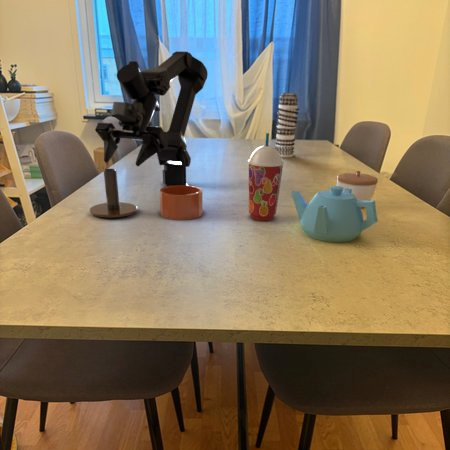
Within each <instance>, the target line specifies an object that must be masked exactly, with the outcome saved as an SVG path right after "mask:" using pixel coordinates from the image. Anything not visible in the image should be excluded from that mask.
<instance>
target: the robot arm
mask: <svg viewBox="0 0 450 450" xmlns="http://www.w3.org/2000/svg"><path fill="white" fill-rule="evenodd" d="M176 77H177V79H178V83H179V86H180V88H179V93H178V96H177V99H176V103H175V107H174V109H173V110H174V111H173V113H172V117H171V121H170V124H169V128H168V130H167V131H164V129H163V127H162V126H156V125H155V126H154V125H153V123H152V118H153V115H154V113H155V112H160V111H161V107H160V104H159V102H158V99H157V97H156V96H160V97H162V96H163V97H164V96H165V95H166V94H167V93H168V91H169V90H170V88H171V85H170V84H171V82H172V81H173V80H174V79H175V78H176ZM116 79H117V81H118V82H119V84H120V86H121V88H122V90H123V91H124V93H125V95H126V96H127V97H128V99H130V100H133V101H132V103H130V102H125V101H124V102H122V101H114V102H113V104H112V109H111V117H112V118H115V119H116V120H118V122H117V124H118V125H119V126H120V127H122V128H116V127H115V125H114V124H113V123H112V122H97V124H96V127H95V129H94V131H95V132H96V134H97V135H98V136H99V138H100V139H101V140H102V141H103V161H104V163H105V164H108V163H109V161H110V160H111V159H112V157H113V156H114V154H115V153H116V151H117V149H118V148H119V145H118V144H120V142H121V139H126V140H127V139H128V140H132V141H141V142H142V144H141V146H140V149H139V151H138V154H137V156H136V160H135V166H136V167H140V166H141V165H142V164H143V163H145V162H146V161H147V160H148V159H150V158H151V157H153V156H154V155H156V156H157V159H158V164H159V166H163V169H162V170H161V171H162V184H163V185H165V187H167V186H173V185H189V184H188V183H187V168H188V167H190V166H191V161H192V159H191V156H190V154H189V151H188V150H187V148H188V146H187V142H186V139H185V135H186V131H187V128H188V123H189V120H190V117H191V113H192V109H193V106H194V102H195V98H196V95H197V94H198V93H199V92H201V90H202V89H204V86H205V83H206V82H207V79H208V69H207V67H206V66H205V64H204V63H203V62H202V61H201V60H200V59H197V58H196V57H195V56H193V55H192V53H191V52H189V51H179V50H177V51H175V52H172V54H171V56H169V57H168V58H167V59H165V60H164V61H163V62H162V63H161V64H159V65H158V66H157V67H153V68H147V69H144V70H141V68H140V65H139V62H138V61H137V60H130V61H129V62H128V64H126V65H124V66H122V67H121V68H120V69H118V70H117V73H116Z"/></svg>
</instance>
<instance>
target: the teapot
mask: <svg viewBox="0 0 450 450" xmlns="http://www.w3.org/2000/svg"><path fill="white" fill-rule="evenodd" d="M343 189H344V188H343V187H341V186H337V185H331V186H330V189H329V190H328V189H327V190H320V191H318V192H316V194H315V195H314V196H313V197H312V198H311V200H310V201H309V203H307V202H306V201H305V199H304V198H303V195H302V193H301V192H300V191H298V190H293V191H291V192H290V193H291V197H292V200H293V203H294V206H295V209H296V212H297V215H298V219H299V221H300V228H301V229H302V230H303V232H304V233H305V234H306V236H308V237H310V238H311V239H315V240H317V241H321V242H327V243H347V242H352V241H353V240H355V239H356V238H358V236H360V235H361V234H362V233H363V231H365V230H367V229H369V228H371V227H372V226H374V225H375V224H376V223H378V221H379V220H378V213H377V206H376V200H374V199H371V200H359V201H357V199H356V197H355V196H354V195H353V194H351V192H352V189H348V188H347V189H345V190H344V192H343ZM360 207H362V208H365V213H366V214H365V215H366V217H365V218H366V219H364V214H363V211H362V208H360Z"/></svg>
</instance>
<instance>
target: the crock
mask: <svg viewBox="0 0 450 450" xmlns="http://www.w3.org/2000/svg"><path fill="white" fill-rule="evenodd" d="M158 193H159V211H160V215H161V216H162V217H163V218H166V219H168V220H169V219H170V220H176V221H177V220H178V221H181V220H183V221H184V220H185V221H186V220H194V219H197V218H200V217H202V215H203V188H200V187H199V186H195V185H189V184H188V185H173V186H163V187H161V188H160V189H159V191H158Z"/></svg>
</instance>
